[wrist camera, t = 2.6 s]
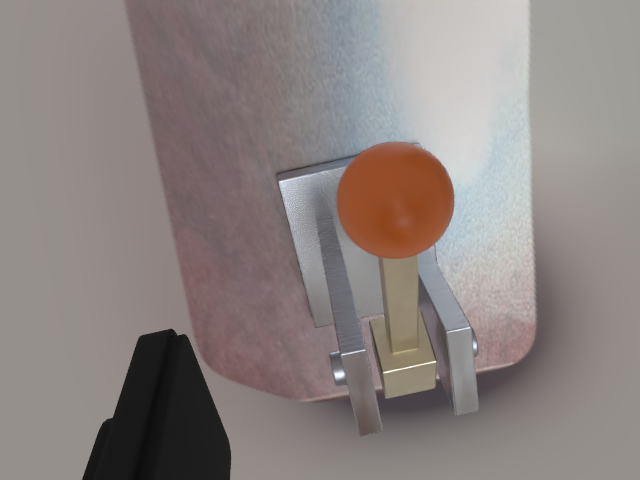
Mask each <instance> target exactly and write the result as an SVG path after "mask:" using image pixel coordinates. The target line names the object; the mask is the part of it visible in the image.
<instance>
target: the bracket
mask: <svg viewBox="0 0 640 480" xmlns="http://www.w3.org/2000/svg"><path fill="white" fill-rule="evenodd" d="M414 145H417V146H419V147H422V146H421V145H420V144H419V143H414ZM356 157H357V156H355V157H351V158H346V159H342V160H337V161H333V162H328V163H324V164H319V165H315V166H310V167H306V168H301V169H297V170H292V171H288V172H283V173H279V174H278V185H279V188H280V192H281V196H282V200H283V204H284V208H285V212H286V216H287V220H288V224H289V228H290V231H291V235H292V239H293V243H294V247H295V251H296V255H297V259H298V263H299V267H300V270H301V274H302V278H303V282H304V286H305V290H306V294H307V298H308V302H309V306H310V310H311V313H312V317H313V321H314V325H315V328H318V327H322V326H327V325H331V324H335V329H336V335H337V340H338V345H339V351H337V352H333V353H330V361H331V366H332V371H333V376H334V380H335V384H336V386H342V385H347V386H348V390H349V394H350V398H351V402H352V407H353V411H354V415H355V419H356V424H357V428H358V432H359V436H364V435H368V434H373V433H378V432H382V431H383V428H382V423H381V418H380V413H379V408H378V403H377V398H376V393H375V388H374V384H373V379H372V374H371V369H370V364H369V359H368V354H367V350H366V346H365V342H364V338H363V334H362V330H361V326H360V322H359V318H364V317H368V316H373V315H377V314H382V313H384V308H383V299H382V289H381V280H380V270H379V260H378V257H377V256H375V255H372V254H370V253H367V252H366V251H364V250H363V249H361V248H360V247H358V246H357V245H356V244H355V243H354V242H353V241H352V240H351V239H350V238H349V237H348V235H347V234H346V233H345V231H344V229H343V227H342V225H341V223H340V220H339V217H338V213H337V206H336V196H337V189H338V185H339V182H340V179H341V177H342V175H343V173H344V171H345V170H346V168H347V167H348V165H349V164H350V163H351V161H352V160H353V159H354V158H356ZM418 310H421V311H422V314H423V317H424V321H425V324H426V327H427V330H428V333H429V336H430V339H431V343H432V346H433V349H434V352H435V355H436V358H437V372H438V374H439V377H440V379H441V382H442V384H443V387H444V389H445V391H446V394H447V396H448V399H449V401H450V404H451V406H452V408H453V411H454V413H455V415H461V414H466V413H471V412H475V411H478V410H479V406H478V395H477V383H476V372H475V360H474V357H476V356H478V344H477V339H476V336H475V333H474V330H473V328H472V326H471V325H470V323H469V321H468V319H467V317H466V316H465V314H464V312H463V310H462V308H461V307H460V305H459V303H458V301H457V299H456V298H455V296H454V294H453V292H452V290H451V288H450V287H449V285H448V283H447V281H446V279H445V278H444V276H443V274H442V272H441V270H440V268H439V267H438V265H437V258H436V249H435V244H434V245H433V246H432V247H430V248H429V249H427V250H426V251H424V252H422V253H420V254H418Z"/></svg>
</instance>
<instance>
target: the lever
mask: <svg viewBox="0 0 640 480" xmlns="http://www.w3.org/2000/svg"><path fill="white" fill-rule="evenodd" d="M336 206H337V213H338V217H339V220H340V223H341V225H342V227H343V229H344V231H345V233H346V234H347V235H348V237H349V238H350V239H351V240H352V241H353V242H354V243H355V244H356V245H357V246H358V247H360V248H361V249H363V250H364V251H366V252H367V253H370V254H372V255H375V256H377V257H378V260H379V270H380V280H381V289H382V299H383V308H384V317H382V318H378V319H373V320H370V321H369V324H370V331H371V337H372V344H373V350H374V354H375V358H376V363H377V367H378V371H379V375H380V379H381V383H382V387H383V391H384V395H385V397H386V398H391V397H396V396H401V395H405V394H409V393H414V392H419V391H424V390H429V389H433V388H435V386H436V371H437V358H436V355H435V352H434V349H433V346H432V343H431V339H430V336H429V333H428V330H427V327H426V324H425V321H424V317H423V314H422V311H421V310H418V254H420V253H422V252H424V251H426V250H427V249H429V248H430V247H432V246H433V245H434V244H435V243H436V242H437V241H438V240H439V239H440V238H441V237H442V235H443V234H444V232H445V231H446V229H447V228H448V226H449V223H450V221H451V218H452V215H453V210H454V189H453V185H452V182H451V179H450V177H449V174H448V173H447V171H446V169H445V167H444V166H443V165H442V164H441V162H440V161H439V160H438V159H437V158H436V157H435V156H434V155H432V154H431V153H430V152H428V151H427V150H425V149H423V148H422V147H419V146H417V145H414V144H410V143H405V142H386V143H381V144H378V145H375V146H372V147H370V148H368V149H366V150H365V151H363V152H362V153H360V154H359V155H358V156H357V157H356V158H354V159H353V160H352V161H351V163H350V164H349V165H348V167H347V168H346V170H345V171H344V173H343V175H342V177H341V179H340V182H339V185H338V189H337V196H336Z"/></svg>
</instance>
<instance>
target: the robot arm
mask: <svg viewBox="0 0 640 480" xmlns="http://www.w3.org/2000/svg"><path fill="white" fill-rule="evenodd" d="M230 469H231V450H230V444H229V440H228V437H227V435H226V432H225V430H224V427H223V424H222V422H221V419H220V417H219V414H218V412H217V409H216V407H215V404H214V402H213V399H212V397H211V394H210V391H209V389H208V386H207V384H206V382H205V379H204V376H203V374H202V372H201V369H200V366H199V364H198V361H197V359H196V356H195V354H194V351H193V348H192V346H191V343H190V341H189V339H188V337H187V336H186V335H185V334H183V335H178V336H177V334H176V332H175V331H174V330H173V329H168V330H163V331H159V332H155V333H151V334H146V335H142V336H140V337H139V339H138V341H137V344H136V347H135V350H134V354H133V357H132V360H131V363H130V367H129V369H128V372H127V376H126V378H125V382H124V385H123V388H122V391H121V394H120V397H119V400H118V404H117V407H116V410H115V413H114V416H113V418H111V419H107V420H106V421H105V422H103V424H102V426H101V428H100V430H99V432H98V435H97V438H96V441H95V444H94V446H93V449H92V452H91V456H90V458H89V461H88V464H87V467H86V470H85V473H84V476H83V479H82V480H230Z"/></svg>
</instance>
